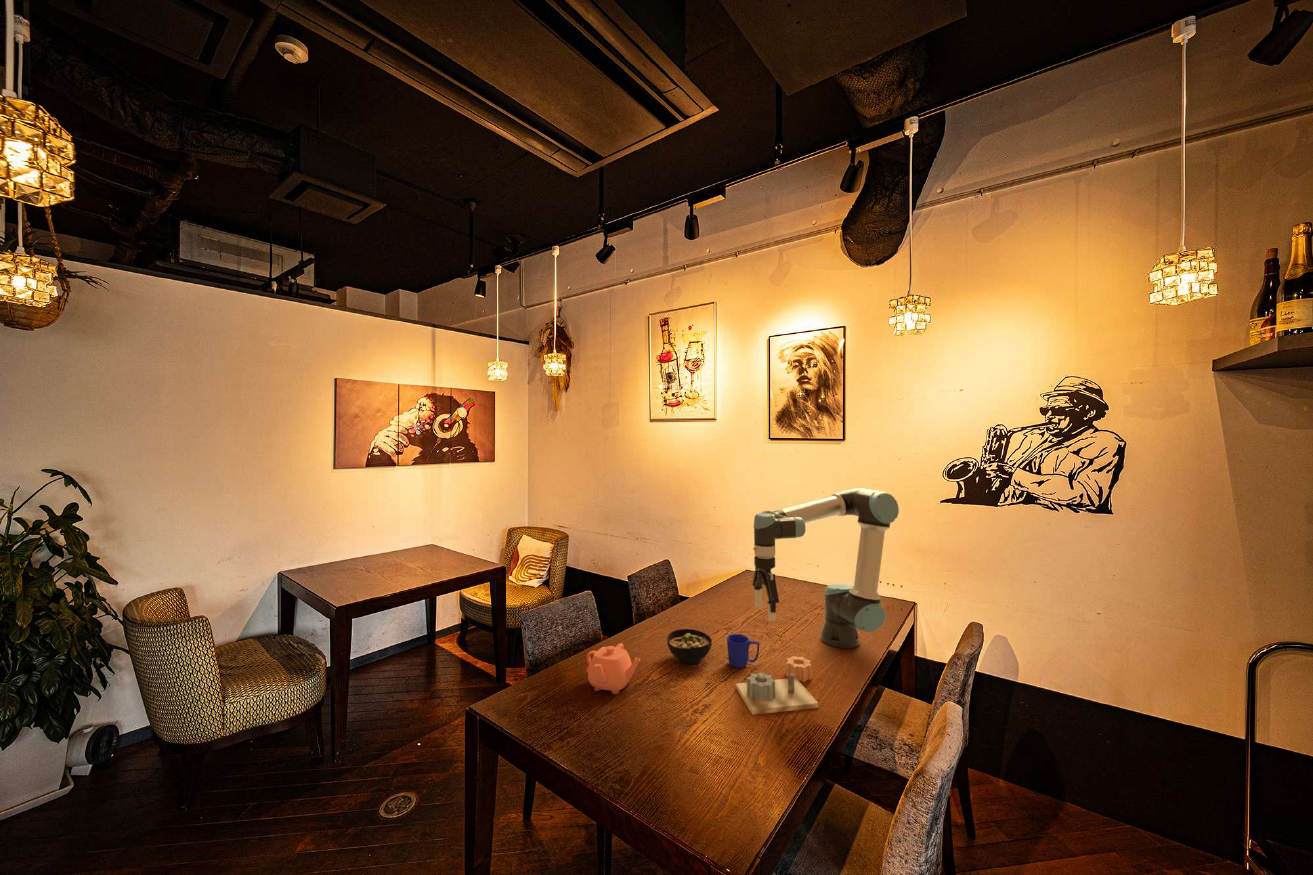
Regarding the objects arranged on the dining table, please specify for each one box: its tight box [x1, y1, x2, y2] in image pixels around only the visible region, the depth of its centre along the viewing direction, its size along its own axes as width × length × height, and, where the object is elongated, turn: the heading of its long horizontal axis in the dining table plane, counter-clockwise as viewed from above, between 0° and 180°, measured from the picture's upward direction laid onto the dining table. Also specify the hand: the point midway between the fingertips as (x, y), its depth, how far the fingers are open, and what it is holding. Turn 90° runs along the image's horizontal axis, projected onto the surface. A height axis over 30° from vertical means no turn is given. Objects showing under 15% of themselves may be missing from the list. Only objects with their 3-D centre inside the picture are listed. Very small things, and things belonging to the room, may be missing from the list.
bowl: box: [666, 628, 713, 667], centre depth 187 cm, size 17×17×10 cm
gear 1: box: [746, 672, 776, 702], centre depth 160 cm, size 9×9×5 cm
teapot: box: [586, 642, 641, 695], centre depth 168 cm, size 16×17×14 cm
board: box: [735, 673, 819, 716], centre depth 161 cm, size 22×16×7 cm
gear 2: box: [785, 655, 813, 683], centre depth 175 cm, size 9×9×5 cm
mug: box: [726, 633, 760, 669], centre depth 183 cm, size 8×12×10 cm
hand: (765, 613), depth 179 cm, fingers open, 13 cm apart
